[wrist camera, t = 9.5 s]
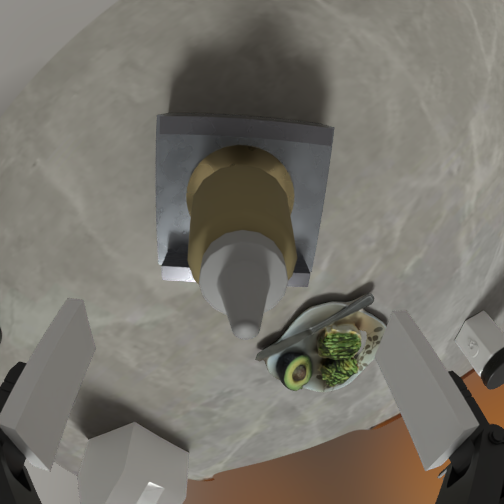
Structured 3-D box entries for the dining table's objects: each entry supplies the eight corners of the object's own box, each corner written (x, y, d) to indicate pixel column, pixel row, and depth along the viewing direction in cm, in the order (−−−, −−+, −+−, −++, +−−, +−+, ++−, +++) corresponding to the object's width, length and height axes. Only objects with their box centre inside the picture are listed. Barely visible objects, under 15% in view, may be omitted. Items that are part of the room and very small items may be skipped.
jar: (469, 309, 45) (506, 354, 34) (495, 309, 45) (530, 349, 35) (448, 349, 49) (477, 395, 38) (475, 346, 49) (504, 387, 39)
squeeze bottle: (238, 138, 27) (243, 195, 11) (301, 199, 29) (373, 320, 13) (178, 201, 29) (116, 328, 13) (240, 255, 32) (247, 407, 16)
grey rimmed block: (167, 243, 37) (152, 279, 30) (168, 113, 30) (148, 116, 23) (302, 251, 38) (317, 287, 31) (320, 123, 31) (344, 130, 24)
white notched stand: (134, 421, 53) (113, 532, 31) (189, 452, 59) (183, 552, 37) (88, 439, 58) (65, 527, 35) (137, 466, 64) (125, 549, 41)
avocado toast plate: (323, 261, 39) (333, 281, 35) (409, 312, 44) (422, 331, 40) (243, 360, 46) (244, 383, 42) (332, 391, 51) (338, 411, 47)
